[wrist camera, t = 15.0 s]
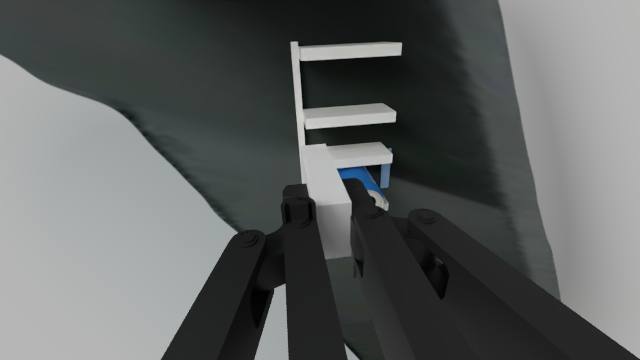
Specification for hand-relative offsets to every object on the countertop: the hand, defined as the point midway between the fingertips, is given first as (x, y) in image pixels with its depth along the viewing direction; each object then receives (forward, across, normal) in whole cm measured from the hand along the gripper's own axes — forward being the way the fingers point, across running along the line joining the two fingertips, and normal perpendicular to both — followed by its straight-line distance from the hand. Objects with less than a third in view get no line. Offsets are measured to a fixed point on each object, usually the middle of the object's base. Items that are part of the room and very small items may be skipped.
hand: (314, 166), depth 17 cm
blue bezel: (+30, +16, -16) cm, 38 cm away
